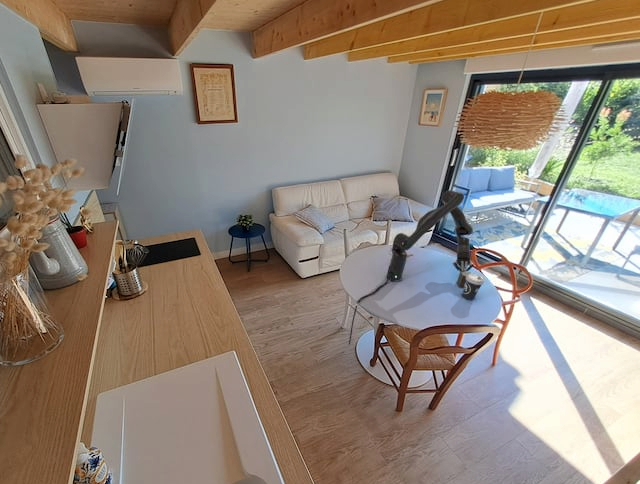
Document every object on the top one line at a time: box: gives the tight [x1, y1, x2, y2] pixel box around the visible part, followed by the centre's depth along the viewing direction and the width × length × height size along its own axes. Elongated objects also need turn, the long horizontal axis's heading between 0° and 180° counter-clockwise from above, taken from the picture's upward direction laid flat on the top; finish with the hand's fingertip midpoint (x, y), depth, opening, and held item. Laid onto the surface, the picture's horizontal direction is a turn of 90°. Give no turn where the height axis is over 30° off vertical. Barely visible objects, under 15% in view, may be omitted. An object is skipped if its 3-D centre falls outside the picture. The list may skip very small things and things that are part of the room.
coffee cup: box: [461, 273, 485, 301], centre depth 177 cm, size 10×10×15 cm
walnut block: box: [456, 271, 472, 289], centre depth 190 cm, size 6×6×9 cm
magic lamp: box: [388, 247, 414, 259], centre depth 217 cm, size 7×18×11 cm, turn 77°
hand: (463, 276), depth 193 cm, fingers closed
